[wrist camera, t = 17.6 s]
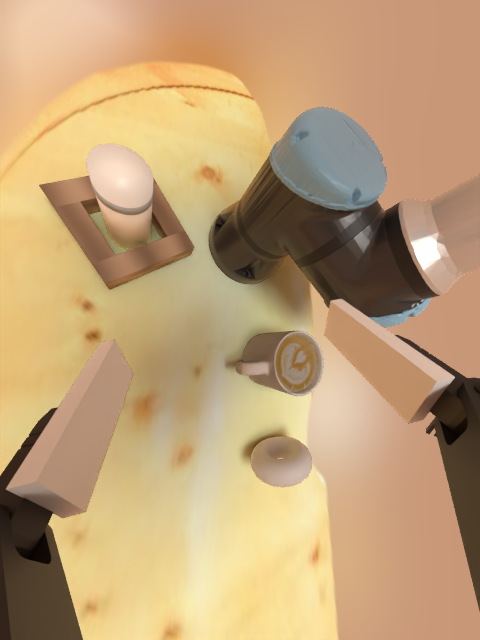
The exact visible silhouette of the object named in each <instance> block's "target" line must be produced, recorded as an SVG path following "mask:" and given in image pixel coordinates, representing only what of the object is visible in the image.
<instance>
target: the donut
mask: <svg viewBox="0 0 480 640" xmlns="http://www.w3.org/2000/svg"><path fill="white" fill-rule="evenodd" d="M277 458H284V459H277ZM251 467H252V469H253V471H254V473H255V474H256V476H257V477H258V478H259V479H260V480H262V481H263V482H264V483H267V484H269V485H272V486H276V487H289V486H294V485H296V484H299V483H301V482H302V481H303V480H304V479H305V478H307V477H308V475H309V473H310V471H311V469H312V457H311V454H310V452H309V450H308V449H307V447H306V446H305V445H304V444H302V443H301V442H300V441H298V440H296V439H294V438H290V437H282V436H278V437H271V438H268V439H265V440H263V441H261V442H260V443H259V444H257V445H256V446H255V448H254V449H253V452H252V454H251Z"/></svg>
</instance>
